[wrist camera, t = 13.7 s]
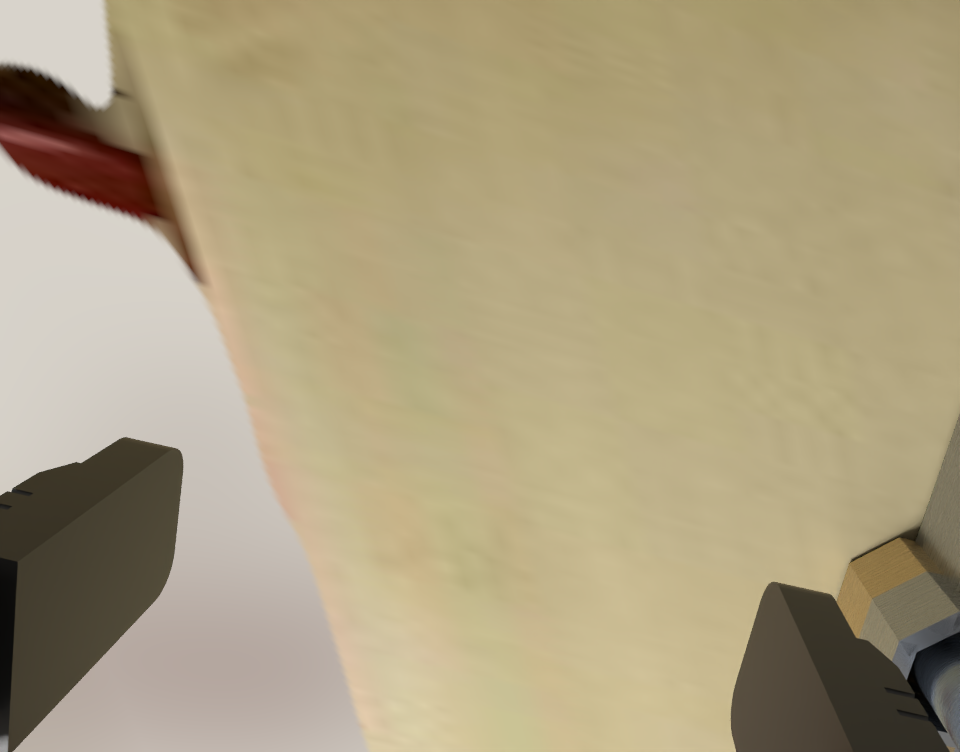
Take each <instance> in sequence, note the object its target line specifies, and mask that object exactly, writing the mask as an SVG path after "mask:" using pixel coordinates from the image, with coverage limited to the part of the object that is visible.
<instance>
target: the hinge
mask: <svg viewBox="0 0 960 752" xmlns="http://www.w3.org/2000/svg"><path fill="white" fill-rule="evenodd" d="M836 603H837V604H838V606H839V608H840V610H841V611H842V613H843V615H844V617H845V619H846V620H847V622H848V624H849V626H850V627H851V629H852V631H853V633H854V635H855V636H856V638H859V639H863V640H868V641H869V642H870V643H871V644H873V645H874V646H875V647H876V648H877V649H878V650H879V651H881V652H882V653H883V654H884V655H885V656H886V657H887V658H889V659H890V660H891V661H892V662H893V663H894V664H895V665H897V666H898V667H899V669H900V671H901V672H902V674H903V675H904V677H905V679H906V680H907V682H908V684H909V685H910V687H911V689H912V690H913V692H914V693H915V696H914V699H918V700H919V702H920V703H921V705H922V707H923V708H924V710H925V711H926V713H927V715H928V716H929V717H928V722H932V723H933V725H934V726H935V728H936V729H937V731H938V733H939V734H940V736H941V738H942V739H943V741H944V743H945V744H946V746H947V748H948V749H949V751H950V752H959V750H958V749H957V747H956V745H955V744H954V742H953V740H952V739H951V737H950V736H949V734H948V732H947V731H946V729H945V728H944V726H943V724H942V723H941V721H940V719H939V718H938V716H937V715H936V713H935V711H934V710H933V708H932V706H931V705H930V703H929V702H928V700H927V698H926V697H925V695H924V694H923V692H922V690H921V689H920V687H919V685H918V684H917V682H916V681H915V679H914V677H913V676H912V674H911V672H910V669H911V667H912V664H913V661H914V658H915V655H916V653H917V652H918V651H920V650H923V649H925V648H927V647H929V646H931V645H933V644H935V643H937V642H939V641H941V640H943V639H945V638H947V637H949V636H951V635H953V634H955V633H958V632H960V415H959V418H958V421H957V424H956V427H955V429H954V432H953V435H952V438H951V441H950V444H949V447H948V450H947V452H946V455H945V458H944V461H943V464H942V467H941V470H940V472H939V475H938V478H937V481H936V484H935V487H934V490H933V493H932V495H931V498H930V501H929V504H928V507H927V510H926V513H925V515H924V518H923V521H922V524H921V527H920V530H919V533H918V536H917V538H916V541H913V540H908V539H904V538H897V539H895V540H893V541H891V542H889V543H887V544H885V545H883V546H882V547H880V548H878V549H876V550H874V551H872V552H870V553H868V554H866V555H864V556H862V557H860V558H858V559H856V560H855V561H853V562H851V563H849V566H848V569H847V572H846V575H845V578H844V581H843V584H842V587H841V590H840V593H839V596H838V599H837V602H836Z"/></svg>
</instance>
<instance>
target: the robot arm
mask: <svg viewBox="0 0 960 752" xmlns="http://www.w3.org/2000/svg"><path fill="white" fill-rule="evenodd" d="M182 476H183V458H182V454H181V452H180V450H178V449H176V448H172V447H167V446H162V445H158V444H154V443H149V442H145V441H140V440H135V439H131V438H127V437H125V438H121V439H119V440H117V441H116V442H114V443H113V444H111V445H110V446H108V447H106V448H105V449H103V450H102V451H100V452H98V453H97V454H95V455H94V456H92V457H91V458H89V459H87V460H86V461H84V462H83V463H77V462H75V463H72V464H68V465H65V466H61V467H57V468H54V469H51V470H46V471H43V472H39V473H37V474H36V475H34V476H32V477H31V478H29V479H27V480H26V481H24V482H22V483H21V484H19V485H17V486H16V487H14V488H13V489H12V492H5V493H4V494H2V495H1V496H0V752H12V751H14V750H15V749H16V748H17V747H18V745H19V744H20V743H21V742H22V741H23V740H24V739H25V738H26V737H27V736H28V735H29V734H30V733H31V732H32V731H33V730H34V728H35V727H36V726H37V725H38V724H39V723H40V722H41V721H42V720H43V719H44V718H45V717H46V716H47V715H48V714H49V713H50V711H51V710H52V709H53V708H54V707H55V706H56V705H57V704H58V703H59V702H60V701H61V700H62V699H63V698H64V697H65V696H66V694H68V692H69V691H70V690H71V689H72V688H73V687H74V686H75V685H76V684H77V683H78V682H79V681H80V680H81V679H82V677H84V675H85V674H86V673H87V672H88V671H89V670H90V669H91V668H92V667H93V666H94V665H95V664H96V663H97V662H98V661H99V660H100V658H102V656H103V655H104V654H105V653H106V652H107V651H108V650H109V649H110V648H111V647H112V646H113V645H114V644H115V643H116V642H117V641H118V640H119V638H120V637H121V636H122V635H123V634H124V633H125V632H126V631H127V630H128V629H129V628H130V627H131V626H132V625H133V624H134V623H135V621H136V620H137V619H138V618H139V617H140V616H141V615H142V614H143V613H144V612H145V611H146V610H147V609H148V608H149V607H150V606H151V604H153V602H154V601H155V600H156V599H157V598H158V596H159V595H160V593H161V592H162V590H163V588H164V586H165V584H166V581H167V579H168V577H169V573H170V570H171V567H172V563H173V558H174V551H175V542H176V533H177V523H178V514H179V504H180V495H181V485H182ZM914 696H915V693H914V692H913V690H912V689H911V687H910V685H909V684H908V682H907V680H906V679H905V677H904V675H903V674H902V672H901V671H900V669H899V667H898V666H897V665H895V664H894V663H893V662H892V661H891V660H890V659H889V658H887V657H886V656H885V655H884V654H883V653H882V652H881V651H879V650H878V649H877V648H876V647H875V646H874V645H873V644H871V643H870V642H869V641H868V640H863V639H859V638H856V636H855V635H854V633H853V631H852V629H851V627H850V626H849V624H848V622H847V620H846V619H845V617H844V615H843V613H842V611H841V610H840V608H839V606H838V604H837V603H836V601H835V599H834V598H833V596H832V595H830V594H827V593H823V592H818V591H813V590H809V589H804V588H800V587H795V586H791V585H786V584H782V583H777V582H771V583H770V584H769V585H768V586H767V588H766V590H765V591H764V594H763V596H762V599H761V602H760V605H759V608H758V611H757V615H756V618H755V621H754V625H753V628H752V631H751V635H750V638H749V641H748V644H747V648H746V651H745V654H744V658H743V661H742V664H741V668H740V671H739V674H738V677H737V681H736V684H735V688H734V693H733V699H732V707H731V730H732V736H733V740H734V744H735V748H736V752H950V751H949V749H948V748H947V746H946V744H945V743H944V741H943V739H942V738H941V736H940V734H939V733H938V731H937V729H936V728H935V726H934V725H933V723H932V722H928V717H929V716H928V715H927V713H926V711H925V710H924V708H923V707H922V705H921V703H920V702H919V700H918V699H914Z"/></svg>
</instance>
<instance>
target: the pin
mask: <svg viewBox="0 0 960 752" xmlns="http://www.w3.org/2000/svg"><path fill="white" fill-rule="evenodd" d="M910 672H911V674H912V676H913V677H914V679H915V681H916V682H917V684H918V685H919V687H920V689H921V690H922V692H923V694H924V695H925V697H926V698H927V700H928V702H929V703H930V705H931V706H932V708H933V710H934V711H935V713H936V715H937V716H938V718H939V719H940V721H941V723H942V724H943V726H944V728H945V729H946V731H947V732H948V734H949V736H950V737H951V739H952V740H953V742H954V744H955V745H956V747H957V749H958V750H959V752H960V632H958V633H955V634H953V635H951V636H949V637H947V638H945V639H943V640H941V641H939V642H937V643H935V644H933V645H931V646H929V647H927V648H925V649H923V650H920V651H918V652H917V653H916V655H915V658H914V661H913V664H912V667H911V669H910Z"/></svg>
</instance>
